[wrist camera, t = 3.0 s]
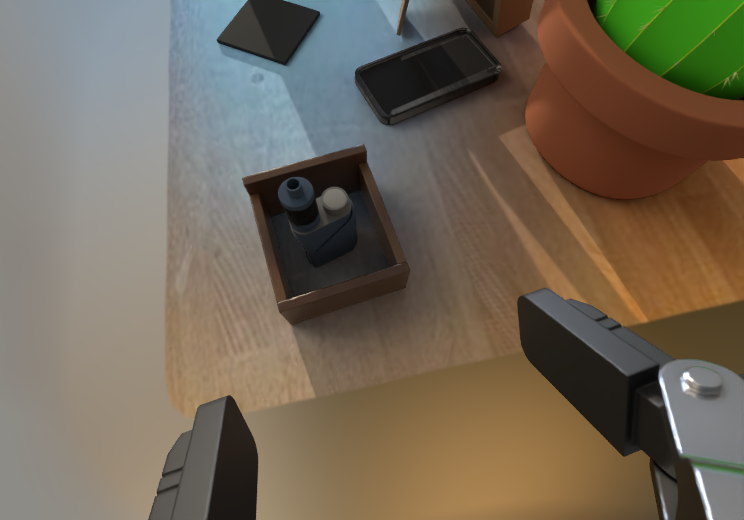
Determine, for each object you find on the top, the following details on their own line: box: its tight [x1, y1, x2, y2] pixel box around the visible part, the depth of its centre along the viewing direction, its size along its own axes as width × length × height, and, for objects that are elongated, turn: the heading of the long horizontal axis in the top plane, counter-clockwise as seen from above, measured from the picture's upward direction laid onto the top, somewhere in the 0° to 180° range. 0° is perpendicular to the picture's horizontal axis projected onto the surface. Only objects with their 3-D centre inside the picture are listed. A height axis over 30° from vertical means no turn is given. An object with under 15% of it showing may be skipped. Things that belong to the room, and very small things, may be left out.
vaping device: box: [278, 177, 357, 267], centre depth 31 cm, size 3×5×12 cm, turn 118°
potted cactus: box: [525, 0, 744, 199], centre depth 30 cm, size 22×22×25 cm
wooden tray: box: [242, 144, 410, 325], centre depth 34 cm, size 12×11×6 cm
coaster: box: [217, 0, 320, 65], centre depth 47 cm, size 9×9×1 cm
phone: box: [355, 28, 501, 125], centre depth 43 cm, size 8×1×15 cm
